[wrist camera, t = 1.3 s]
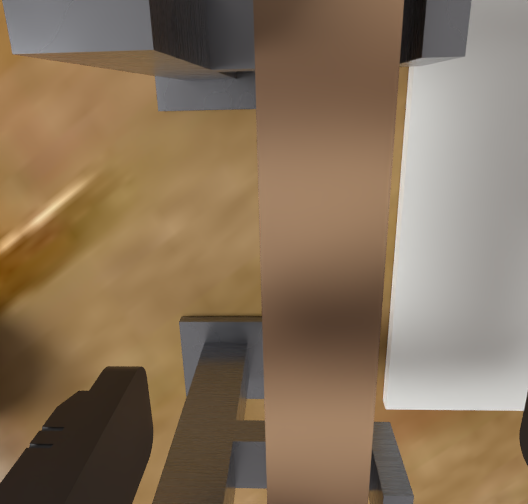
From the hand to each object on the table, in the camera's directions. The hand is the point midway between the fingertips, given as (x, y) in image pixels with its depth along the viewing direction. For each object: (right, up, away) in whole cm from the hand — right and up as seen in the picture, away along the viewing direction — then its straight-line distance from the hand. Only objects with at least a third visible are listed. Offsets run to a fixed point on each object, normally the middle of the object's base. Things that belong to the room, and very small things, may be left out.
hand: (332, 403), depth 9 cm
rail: (0, +2, +6) cm, 6 cm away
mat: (+10, +6, +13) cm, 17 cm away
